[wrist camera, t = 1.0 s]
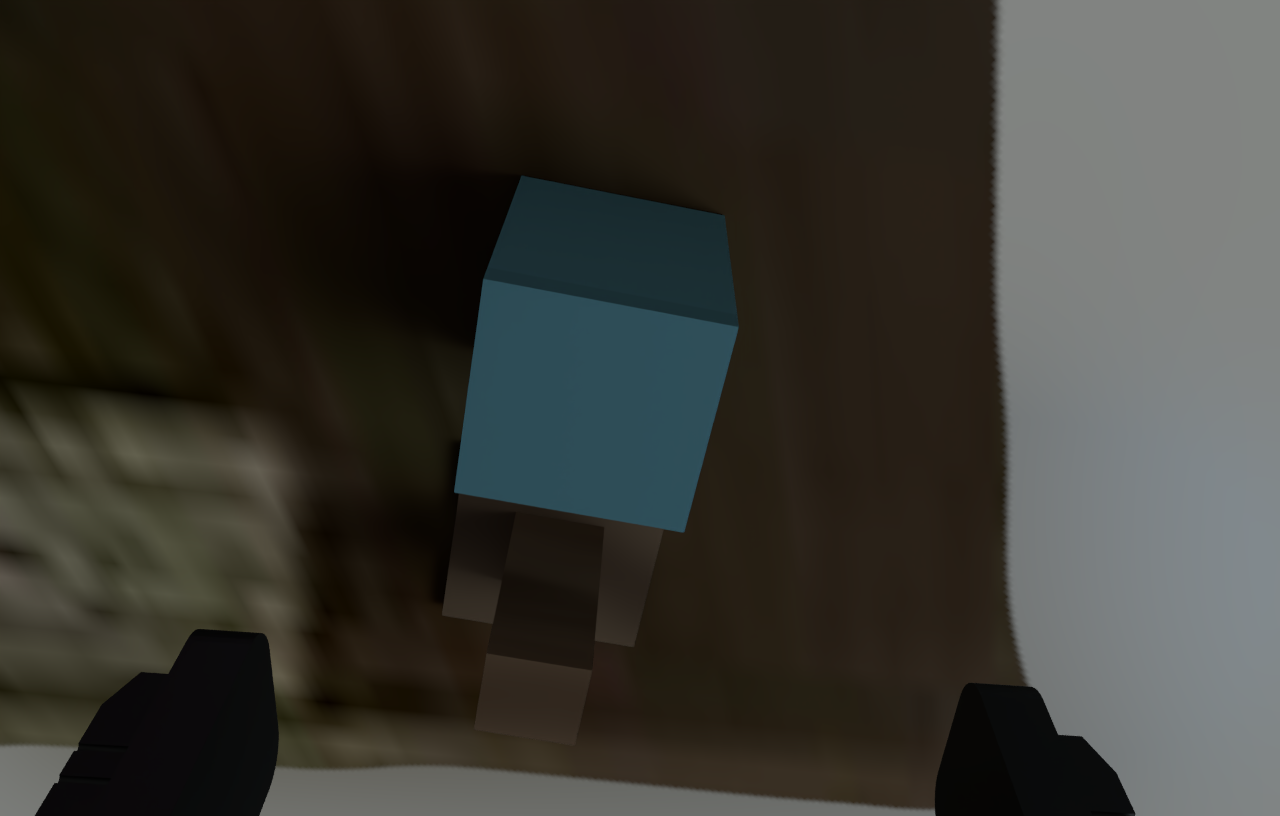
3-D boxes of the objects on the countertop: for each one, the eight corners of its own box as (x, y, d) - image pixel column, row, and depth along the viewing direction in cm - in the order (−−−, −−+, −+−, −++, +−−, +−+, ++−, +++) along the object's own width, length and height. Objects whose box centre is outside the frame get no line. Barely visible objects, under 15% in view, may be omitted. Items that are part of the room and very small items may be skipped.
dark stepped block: (633, 636, 35) (627, 801, 29) (444, 604, 35) (401, 765, 29) (673, 479, 32) (674, 629, 27) (467, 443, 32) (423, 587, 26)
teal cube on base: (681, 392, 31) (684, 532, 25) (494, 357, 30) (454, 492, 25) (724, 215, 28) (738, 327, 23) (521, 175, 28) (483, 278, 22)
